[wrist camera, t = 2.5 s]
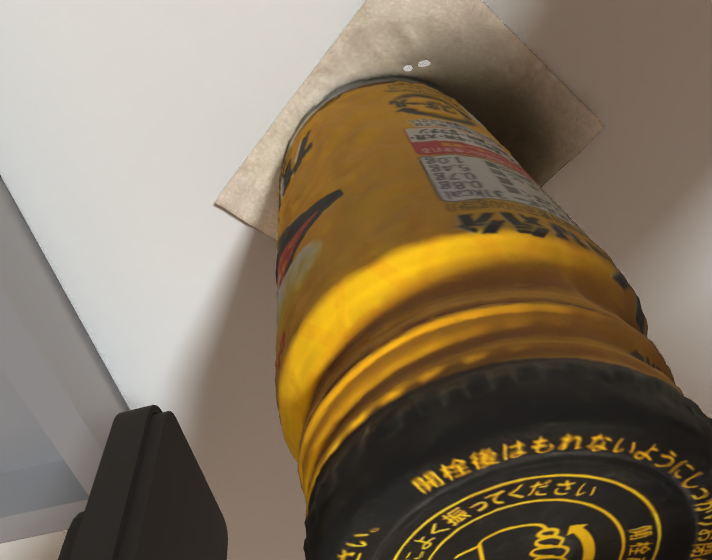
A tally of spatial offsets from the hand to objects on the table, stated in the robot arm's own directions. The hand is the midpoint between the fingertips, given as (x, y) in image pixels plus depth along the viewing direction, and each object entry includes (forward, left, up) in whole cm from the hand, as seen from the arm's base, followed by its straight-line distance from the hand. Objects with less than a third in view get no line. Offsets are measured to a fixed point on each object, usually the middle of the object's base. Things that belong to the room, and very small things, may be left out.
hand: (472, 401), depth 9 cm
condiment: (-1, +1, -9) cm, 9 cm away
